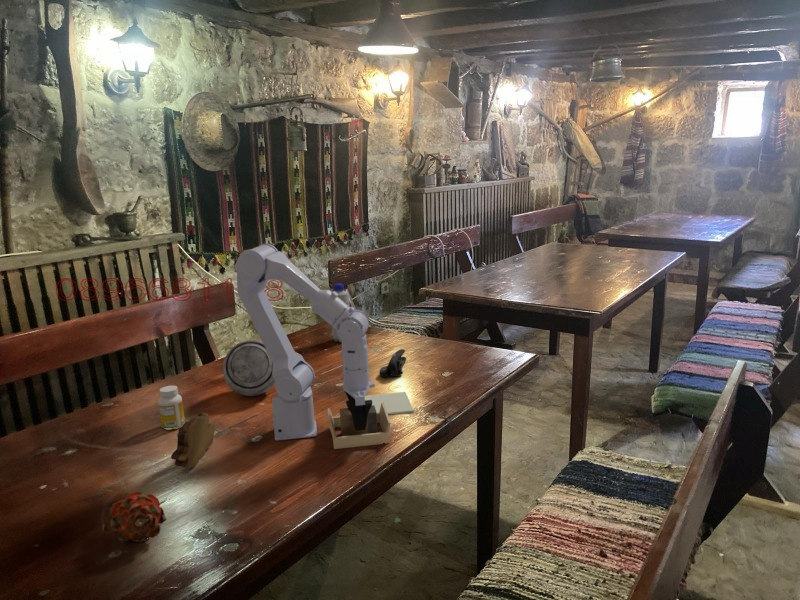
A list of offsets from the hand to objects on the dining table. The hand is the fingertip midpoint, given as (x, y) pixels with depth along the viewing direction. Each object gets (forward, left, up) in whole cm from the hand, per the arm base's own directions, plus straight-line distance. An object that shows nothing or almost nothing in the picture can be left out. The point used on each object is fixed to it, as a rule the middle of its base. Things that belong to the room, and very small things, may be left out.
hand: (358, 422), depth 138 cm
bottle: (+1, +72, -3) cm, 72 cm away
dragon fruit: (-42, -29, -3) cm, 51 cm away
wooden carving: (-36, -4, -3) cm, 36 cm away
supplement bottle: (-44, +15, -3) cm, 46 cm away
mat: (+8, +15, -3) cm, 17 cm away
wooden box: (0, 0, -3) cm, 3 cm away
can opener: (+15, +40, -4) cm, 43 cm away
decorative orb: (-26, +31, -3) cm, 40 cm away
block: (0, 0, -3) cm, 3 cm away
